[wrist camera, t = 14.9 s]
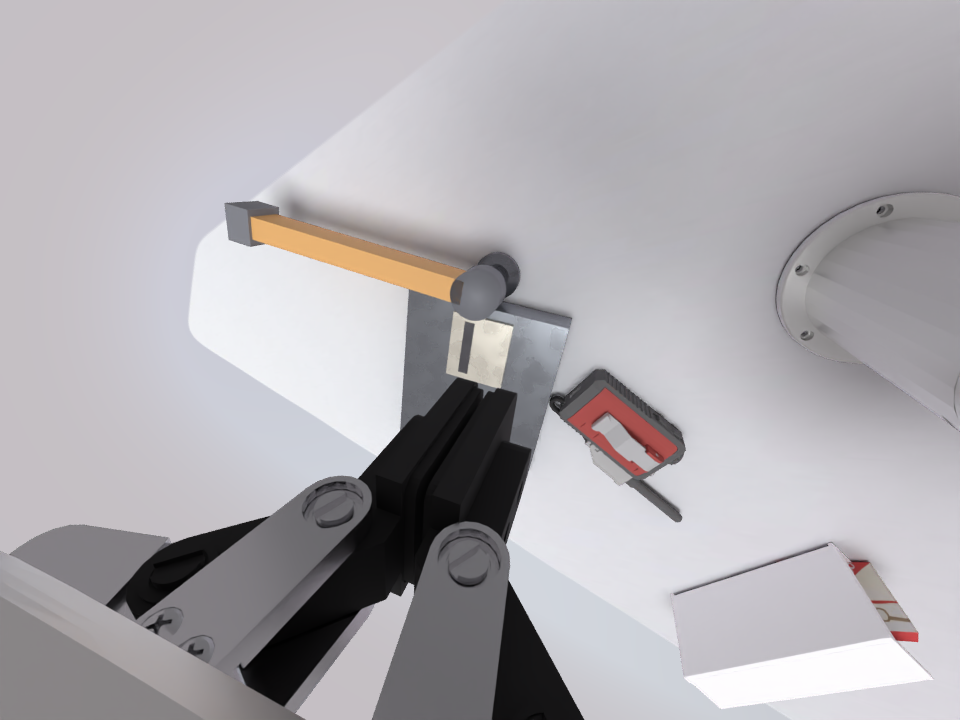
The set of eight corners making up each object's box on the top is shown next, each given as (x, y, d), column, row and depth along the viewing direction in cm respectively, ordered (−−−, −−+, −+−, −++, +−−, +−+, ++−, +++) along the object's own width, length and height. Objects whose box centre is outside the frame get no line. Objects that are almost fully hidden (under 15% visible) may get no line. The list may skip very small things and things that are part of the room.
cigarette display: (700, 620, 48) (718, 709, 40) (670, 593, 48) (683, 677, 40) (879, 571, 38) (953, 676, 30) (844, 536, 38) (910, 633, 30)
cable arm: (512, 271, 31) (501, 281, 28) (500, 314, 33) (490, 328, 30) (257, 196, 36) (223, 198, 33) (260, 238, 38) (229, 244, 34)
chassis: (571, 318, 36) (568, 330, 33) (528, 468, 46) (523, 488, 43) (422, 281, 39) (406, 289, 36) (410, 429, 49) (397, 445, 46)
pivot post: (524, 257, 35) (514, 267, 31) (515, 301, 37) (504, 315, 33) (480, 248, 36) (465, 256, 32) (473, 291, 38) (459, 304, 34)
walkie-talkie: (537, 406, 42) (670, 515, 43) (530, 429, 38) (676, 547, 39) (593, 355, 38) (739, 477, 39) (591, 375, 34) (754, 509, 35)
